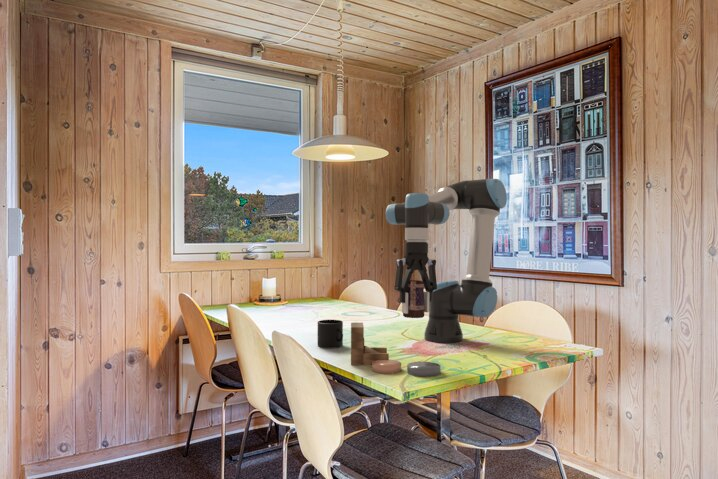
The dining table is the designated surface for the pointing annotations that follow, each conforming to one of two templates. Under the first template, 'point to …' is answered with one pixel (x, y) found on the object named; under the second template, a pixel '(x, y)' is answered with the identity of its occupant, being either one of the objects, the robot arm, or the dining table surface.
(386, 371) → the pink disc
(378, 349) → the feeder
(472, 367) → the dining table surface
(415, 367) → the stand slate
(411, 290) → the mug
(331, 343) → the mug
